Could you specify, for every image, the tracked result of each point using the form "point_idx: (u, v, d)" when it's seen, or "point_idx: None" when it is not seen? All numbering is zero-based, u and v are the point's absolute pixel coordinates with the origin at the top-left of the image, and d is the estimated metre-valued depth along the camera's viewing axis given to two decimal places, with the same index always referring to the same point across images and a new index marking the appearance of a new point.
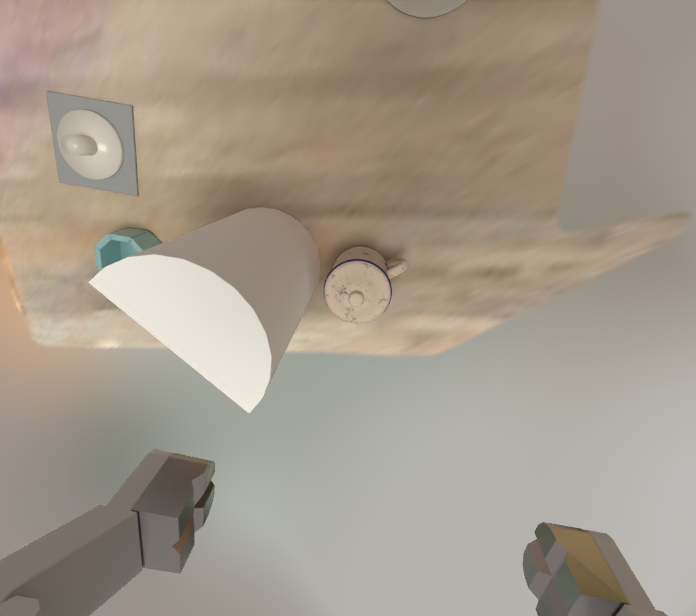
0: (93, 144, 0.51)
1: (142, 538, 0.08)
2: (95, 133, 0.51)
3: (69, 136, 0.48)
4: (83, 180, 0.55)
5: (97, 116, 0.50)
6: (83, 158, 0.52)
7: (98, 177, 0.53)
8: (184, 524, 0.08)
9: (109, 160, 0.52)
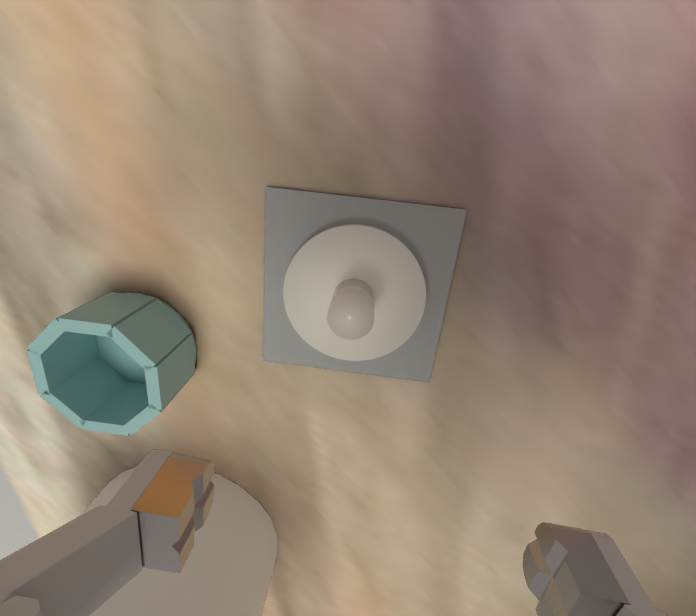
0: None
1: (142, 538, 0.08)
2: (379, 318, 0.24)
3: (369, 320, 0.20)
4: (278, 251, 0.23)
5: (412, 329, 0.24)
6: (325, 280, 0.23)
7: (288, 305, 0.24)
8: (184, 524, 0.08)
9: (327, 336, 0.24)
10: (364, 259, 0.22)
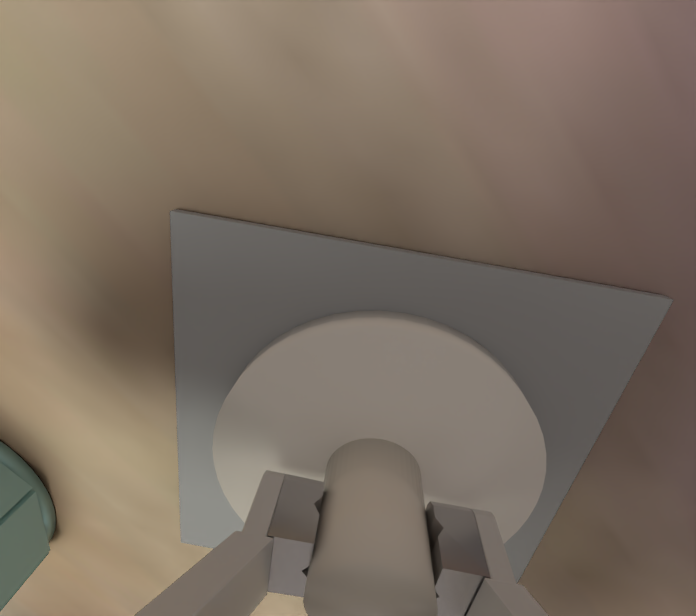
0: None
1: (273, 563, 0.07)
2: None
3: None
4: (204, 355, 0.10)
5: None
6: (310, 437, 0.10)
7: (225, 476, 0.11)
8: None
9: None
10: (405, 402, 0.09)
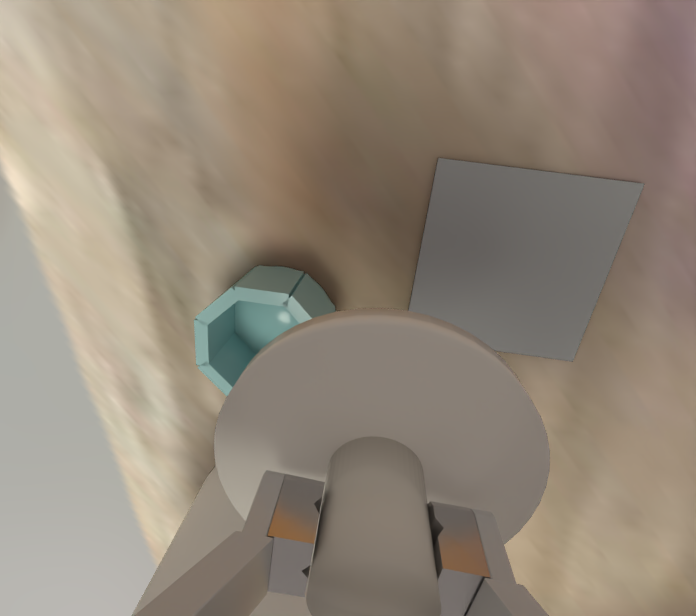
0: None
1: (273, 563, 0.07)
2: None
3: (426, 615, 0.07)
4: (439, 225, 0.23)
5: None
6: (312, 435, 0.10)
7: (227, 474, 0.10)
8: (313, 548, 0.08)
9: None
10: (408, 399, 0.09)
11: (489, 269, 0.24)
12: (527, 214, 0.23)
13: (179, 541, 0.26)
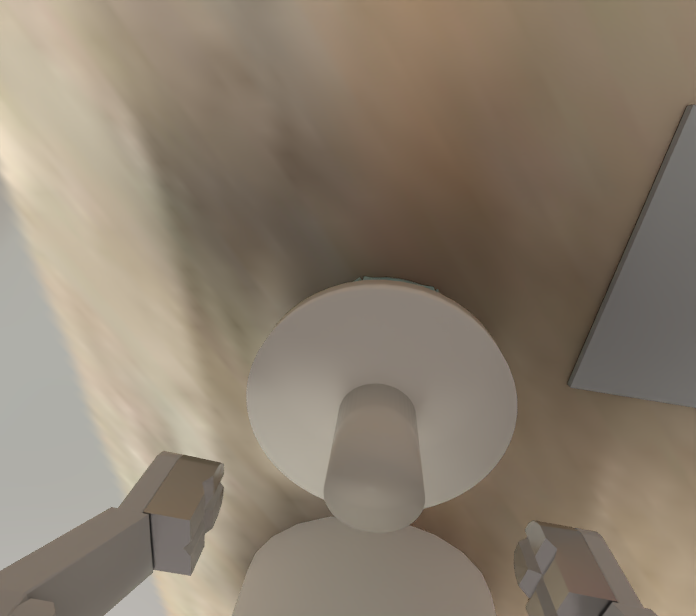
0: None
1: (153, 540, 0.08)
2: (420, 452, 0.13)
3: (414, 504, 0.09)
4: (667, 218, 0.14)
5: (479, 475, 0.13)
6: (326, 383, 0.12)
7: (256, 417, 0.13)
8: (195, 526, 0.08)
9: (323, 470, 0.14)
10: (404, 352, 0.11)
11: None
12: None
13: None
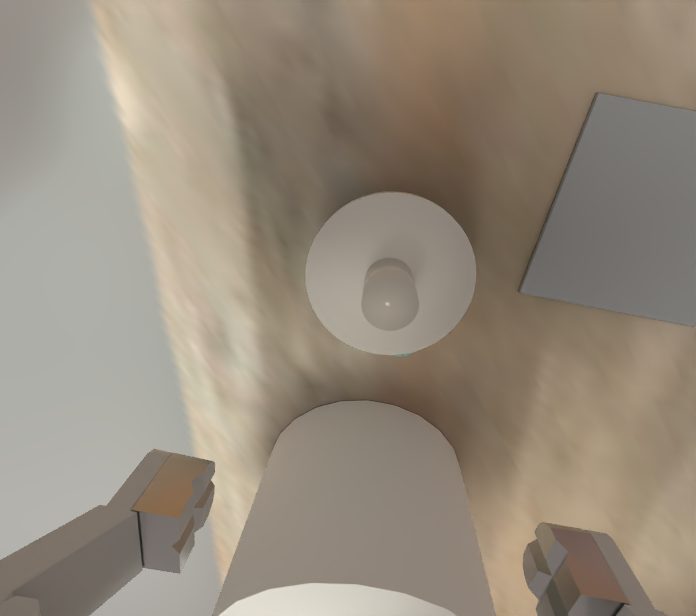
0: None
1: (142, 538, 0.08)
2: None
3: (412, 309, 0.17)
4: (584, 169, 0.22)
5: (452, 325, 0.20)
6: (358, 257, 0.19)
7: (310, 282, 0.20)
8: (184, 524, 0.08)
9: (350, 323, 0.21)
10: (408, 236, 0.18)
11: (627, 222, 0.23)
12: (682, 162, 0.21)
13: (275, 491, 0.25)
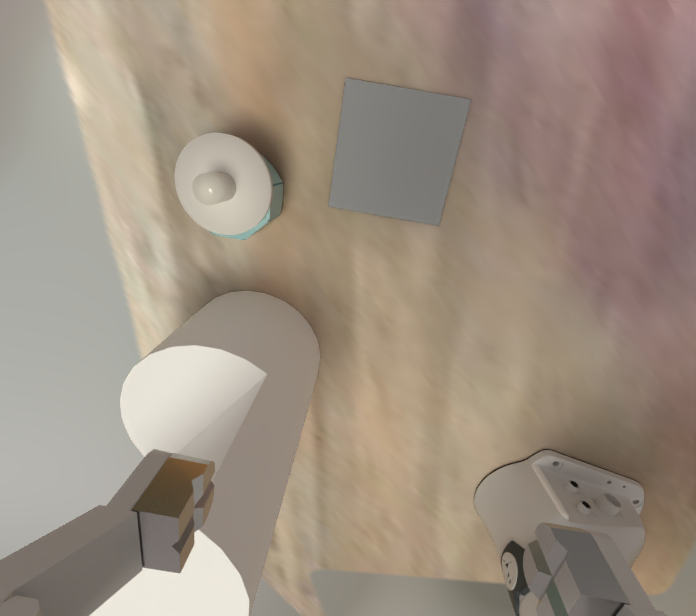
0: None
1: (142, 538, 0.08)
2: (240, 203, 0.34)
3: (219, 191, 0.31)
4: (348, 124, 0.36)
5: (262, 213, 0.35)
6: (203, 171, 0.34)
7: (178, 188, 0.34)
8: (184, 524, 0.08)
9: (205, 214, 0.35)
10: (227, 157, 0.33)
11: (381, 156, 0.37)
12: (402, 118, 0.36)
13: (173, 332, 0.39)
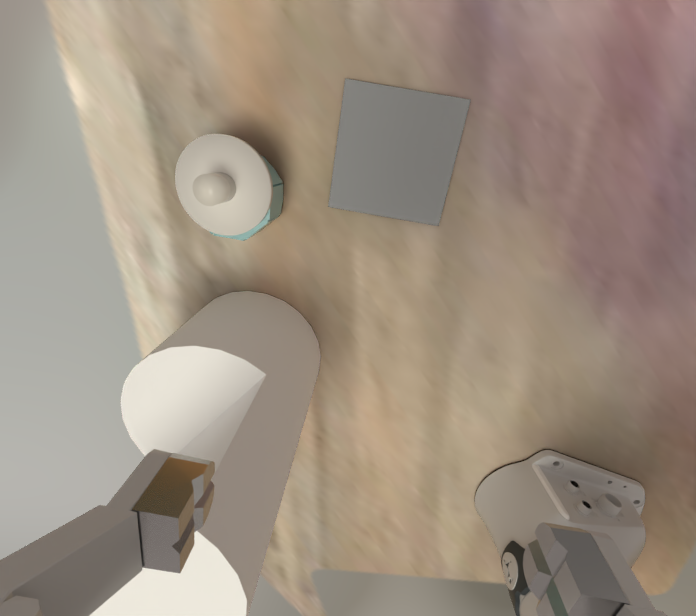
0: None
1: (142, 538, 0.08)
2: (240, 203, 0.35)
3: (219, 192, 0.31)
4: (348, 124, 0.36)
5: (262, 213, 0.35)
6: (203, 172, 0.34)
7: (179, 189, 0.35)
8: (184, 524, 0.08)
9: (206, 215, 0.35)
10: (228, 158, 0.33)
11: (380, 157, 0.37)
12: (401, 118, 0.36)
13: None
